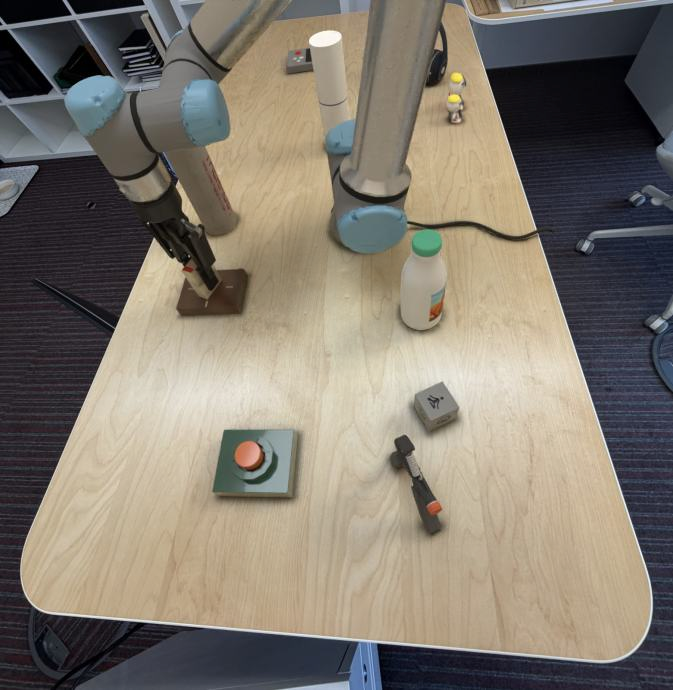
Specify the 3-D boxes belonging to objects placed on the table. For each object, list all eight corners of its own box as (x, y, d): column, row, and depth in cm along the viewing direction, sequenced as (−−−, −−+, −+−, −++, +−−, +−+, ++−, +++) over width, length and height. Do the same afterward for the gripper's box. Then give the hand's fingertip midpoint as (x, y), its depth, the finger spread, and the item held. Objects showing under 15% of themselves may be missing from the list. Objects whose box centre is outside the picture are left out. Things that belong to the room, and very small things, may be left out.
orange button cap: (265, 444, 65) (261, 440, 63) (262, 470, 63) (258, 467, 61) (241, 444, 65) (236, 440, 64) (236, 470, 63) (232, 466, 62)
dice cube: (413, 406, 70) (414, 394, 66) (439, 394, 70) (442, 381, 66) (428, 431, 67) (430, 420, 63) (455, 418, 68) (459, 407, 64)
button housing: (297, 435, 70) (291, 425, 66) (292, 497, 65) (284, 490, 60) (230, 435, 71) (219, 425, 67) (219, 495, 66) (207, 489, 62)
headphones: (448, 78, 120) (456, 1, 104) (437, 90, 118) (443, 13, 102) (390, 65, 128) (389, -8, 112) (378, 76, 125) (375, 3, 110)
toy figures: (461, 125, 108) (466, 92, 101) (444, 125, 109) (447, 92, 102) (463, 99, 114) (468, 66, 107) (447, 99, 115) (450, 67, 107)
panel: (247, 276, 90) (243, 267, 88) (240, 313, 85) (236, 305, 83) (191, 278, 92) (186, 271, 89) (181, 315, 87) (175, 308, 84)
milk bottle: (414, 338, 77) (419, 265, 60) (392, 309, 81) (391, 234, 64) (449, 319, 78) (464, 243, 61) (426, 292, 82) (433, 213, 65)
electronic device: (287, 49, 136) (332, 43, 135) (289, 58, 138) (333, 51, 137) (286, 65, 131) (333, 59, 129) (288, 74, 133) (334, 67, 131)
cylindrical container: (321, 151, 110) (303, 46, 88) (331, 135, 113) (316, 29, 91) (346, 155, 107) (334, 47, 86) (356, 138, 111) (346, 31, 89)
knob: (213, 277, 88) (197, 249, 81) (222, 280, 87) (207, 252, 80) (198, 296, 85) (180, 269, 78) (207, 299, 85) (190, 273, 78)
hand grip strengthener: (428, 537, 59) (437, 522, 47) (388, 459, 66) (386, 427, 53) (442, 530, 60) (455, 513, 47) (401, 452, 66) (402, 419, 53)
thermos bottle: (240, 213, 101) (192, 96, 77) (230, 236, 97) (176, 121, 73) (211, 211, 103) (155, 97, 79) (200, 234, 99) (137, 121, 75)
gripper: (98, 194, 66) (168, 287, 86) (172, 215, 61) (228, 308, 81) (128, 165, 69) (189, 261, 89) (201, 183, 64) (248, 280, 84)
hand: (207, 283), depth 85 cm, fingers closed on knob, 2 cm apart
